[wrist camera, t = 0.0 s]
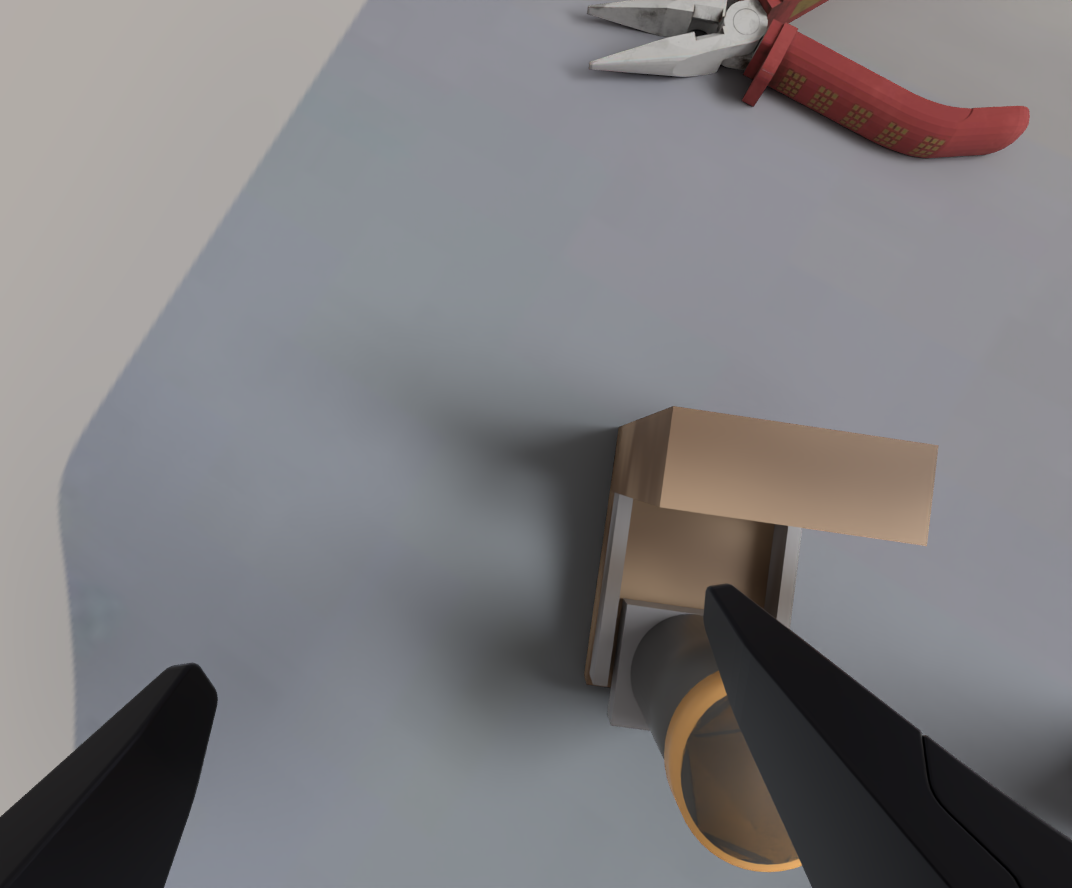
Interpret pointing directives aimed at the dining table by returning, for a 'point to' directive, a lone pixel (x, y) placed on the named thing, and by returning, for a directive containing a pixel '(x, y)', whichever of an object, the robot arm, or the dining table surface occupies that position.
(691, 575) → the mount
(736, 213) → the dining table surface
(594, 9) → the pliers
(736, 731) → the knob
